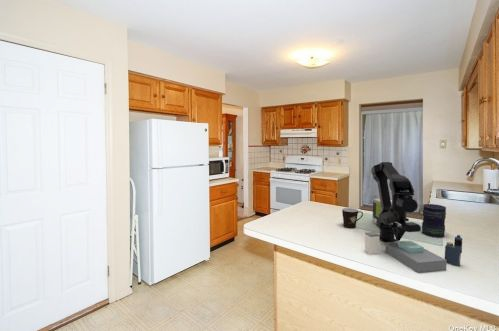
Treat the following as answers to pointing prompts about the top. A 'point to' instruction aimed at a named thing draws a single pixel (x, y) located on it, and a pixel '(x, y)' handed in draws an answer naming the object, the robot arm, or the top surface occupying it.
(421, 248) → the teal rectangular block
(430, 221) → the storage jar
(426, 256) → the socket
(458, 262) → the vaping device
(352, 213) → the coffee mug
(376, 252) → the grey tall block
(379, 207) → the tea box
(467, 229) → the top surface
